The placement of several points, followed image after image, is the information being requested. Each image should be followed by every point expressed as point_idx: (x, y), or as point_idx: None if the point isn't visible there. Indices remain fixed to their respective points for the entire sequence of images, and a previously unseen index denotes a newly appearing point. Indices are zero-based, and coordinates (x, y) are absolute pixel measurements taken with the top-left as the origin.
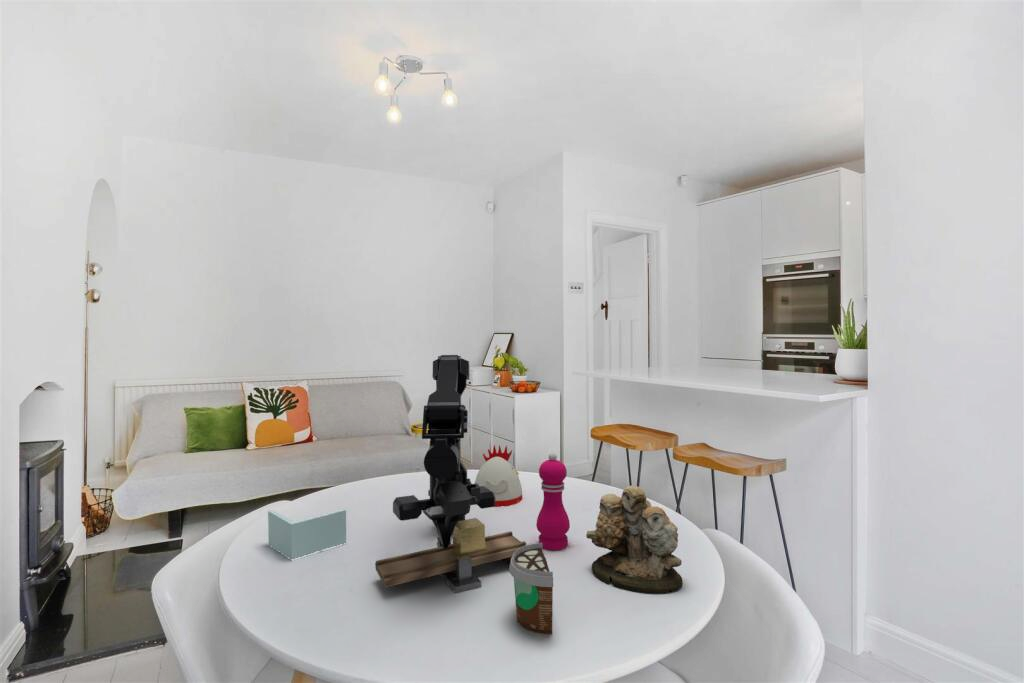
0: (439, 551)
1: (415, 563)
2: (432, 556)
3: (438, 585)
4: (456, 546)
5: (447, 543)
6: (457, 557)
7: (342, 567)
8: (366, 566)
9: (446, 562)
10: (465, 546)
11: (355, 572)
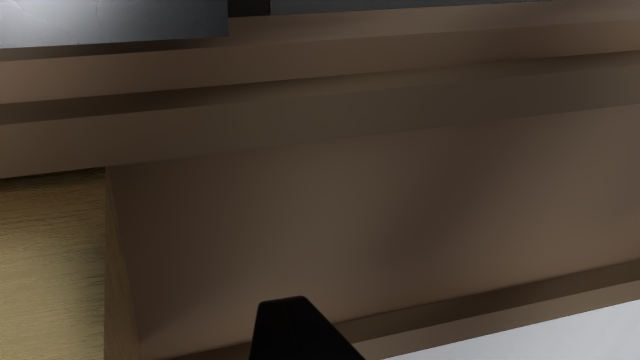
0: None
1: (523, 202)
2: (356, 276)
3: (337, 4)
4: (128, 330)
5: (277, 335)
6: (209, 31)
7: (623, 351)
8: (551, 345)
9: (317, 87)
10: (14, 254)
11: (616, 305)
